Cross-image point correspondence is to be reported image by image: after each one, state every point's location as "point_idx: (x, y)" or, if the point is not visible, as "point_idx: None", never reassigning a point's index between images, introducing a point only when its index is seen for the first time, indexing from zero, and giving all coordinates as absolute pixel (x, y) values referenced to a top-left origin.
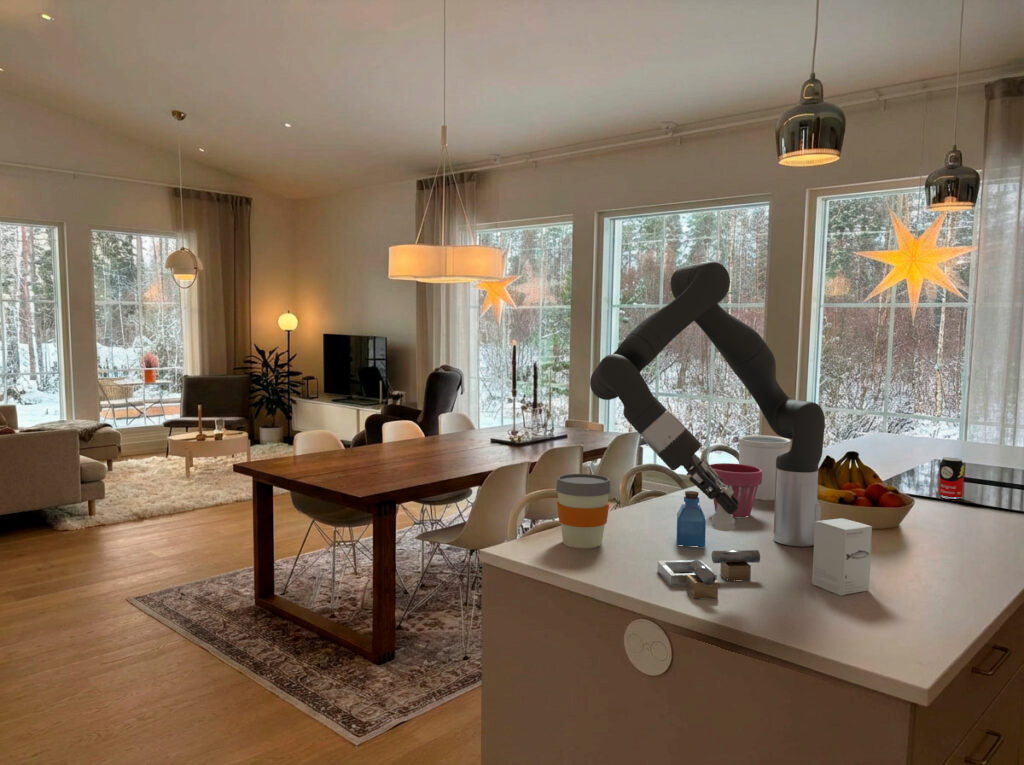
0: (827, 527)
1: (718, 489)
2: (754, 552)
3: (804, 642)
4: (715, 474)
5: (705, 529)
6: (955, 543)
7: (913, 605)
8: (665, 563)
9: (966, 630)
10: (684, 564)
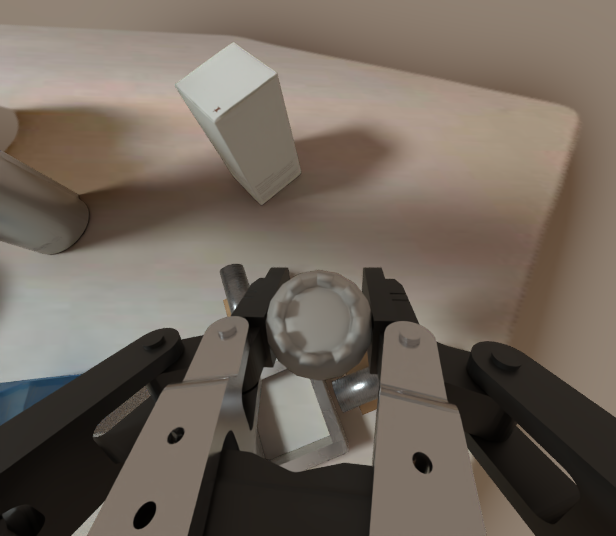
0: (244, 106)
1: (539, 367)
2: (236, 272)
3: (515, 218)
4: (220, 413)
5: (53, 378)
6: (73, 67)
7: (308, 108)
8: None
9: (372, 72)
10: None
